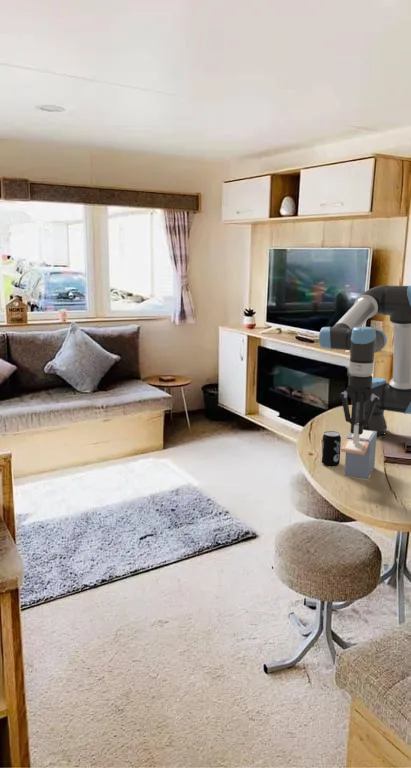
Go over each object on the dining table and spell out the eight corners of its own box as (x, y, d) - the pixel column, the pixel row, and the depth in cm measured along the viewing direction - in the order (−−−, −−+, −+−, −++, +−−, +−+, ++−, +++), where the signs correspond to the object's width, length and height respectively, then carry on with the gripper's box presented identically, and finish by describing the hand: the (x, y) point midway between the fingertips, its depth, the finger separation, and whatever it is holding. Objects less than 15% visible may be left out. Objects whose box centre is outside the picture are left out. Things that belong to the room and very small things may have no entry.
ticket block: (352, 464, 207) (354, 428, 203) (374, 467, 203) (376, 431, 200) (344, 475, 196) (346, 437, 193) (367, 479, 193) (370, 441, 190)
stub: (346, 441, 193) (346, 438, 192) (369, 444, 189) (369, 441, 189) (341, 451, 186) (341, 448, 186) (364, 455, 183) (364, 452, 182)
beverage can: (329, 468, 203) (330, 437, 200) (317, 462, 209) (319, 432, 206) (343, 465, 206) (344, 434, 203) (331, 459, 212) (333, 429, 209)
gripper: (338, 374, 182) (333, 443, 188) (379, 378, 177) (373, 449, 182) (343, 370, 189) (339, 436, 194) (383, 374, 183) (377, 442, 188)
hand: (355, 442), depth 188 cm, fingers closed
